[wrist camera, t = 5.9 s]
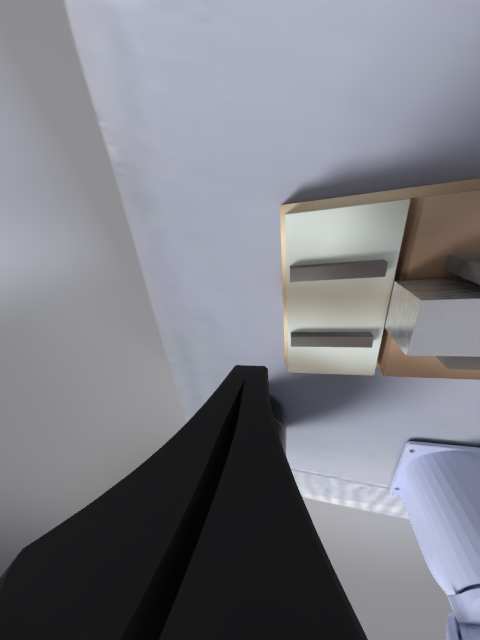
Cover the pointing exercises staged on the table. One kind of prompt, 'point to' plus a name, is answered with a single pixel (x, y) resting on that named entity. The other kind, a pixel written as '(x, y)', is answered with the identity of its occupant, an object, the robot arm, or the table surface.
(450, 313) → the bolt
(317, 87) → the table surface
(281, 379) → the table surface
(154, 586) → the robot arm
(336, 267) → the lock board
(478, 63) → the table surface
